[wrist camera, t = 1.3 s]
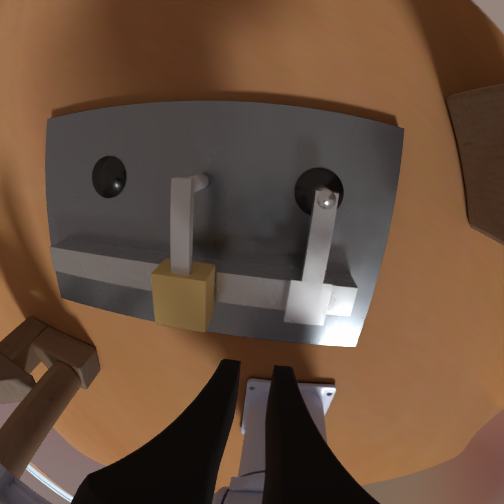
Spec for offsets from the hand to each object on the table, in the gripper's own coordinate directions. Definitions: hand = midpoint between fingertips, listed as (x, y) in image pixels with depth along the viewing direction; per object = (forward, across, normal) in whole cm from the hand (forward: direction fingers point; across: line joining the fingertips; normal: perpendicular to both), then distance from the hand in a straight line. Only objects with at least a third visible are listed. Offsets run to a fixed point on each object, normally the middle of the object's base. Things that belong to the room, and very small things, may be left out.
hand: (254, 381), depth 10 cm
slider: (+9, +4, -2) cm, 10 cm away
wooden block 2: (+10, +22, +12) cm, 27 cm away
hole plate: (+10, +6, -3) cm, 12 cm away
